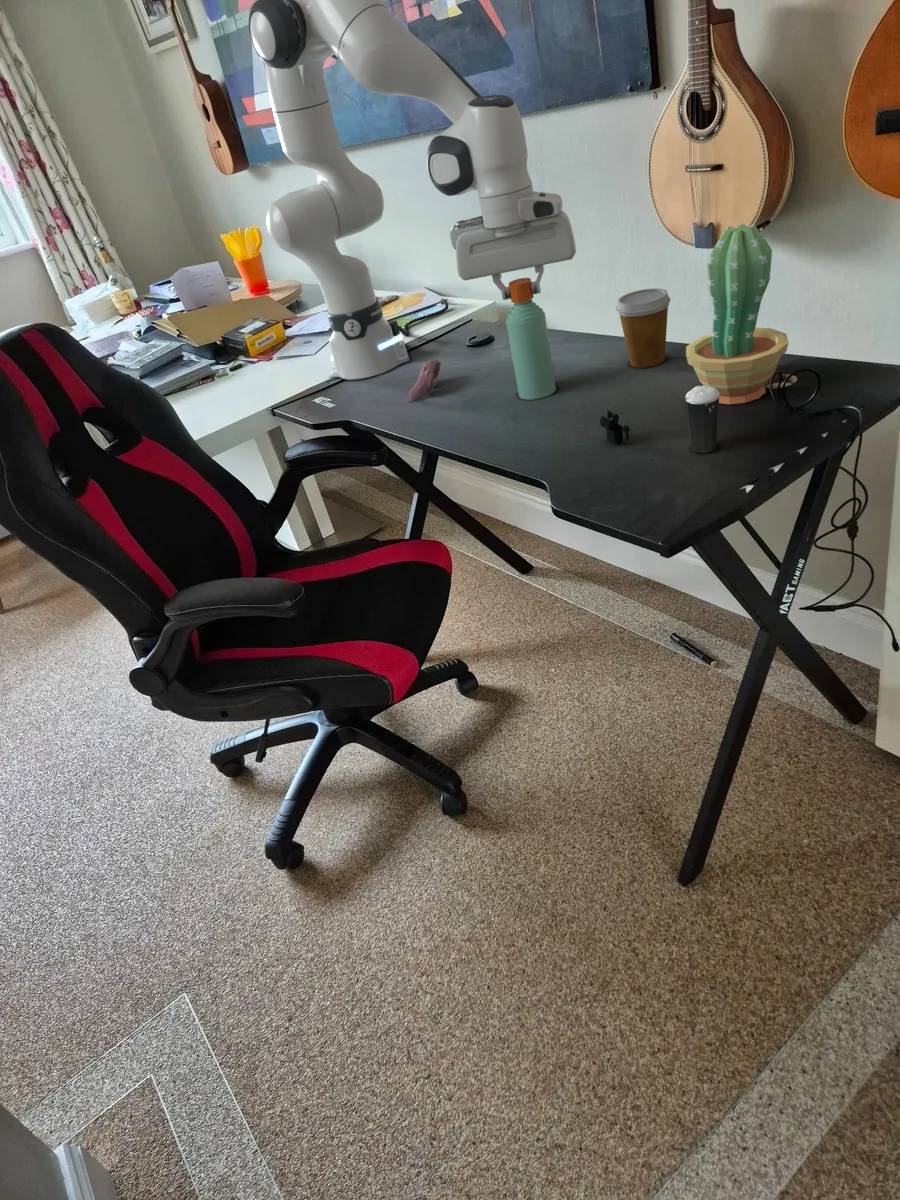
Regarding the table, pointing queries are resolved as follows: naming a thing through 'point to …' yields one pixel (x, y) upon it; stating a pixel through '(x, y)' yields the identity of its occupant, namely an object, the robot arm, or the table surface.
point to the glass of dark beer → (703, 417)
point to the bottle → (530, 351)
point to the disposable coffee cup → (644, 325)
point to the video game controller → (425, 380)
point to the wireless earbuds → (614, 428)
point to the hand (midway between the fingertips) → (522, 295)
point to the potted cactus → (738, 320)
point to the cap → (520, 290)
